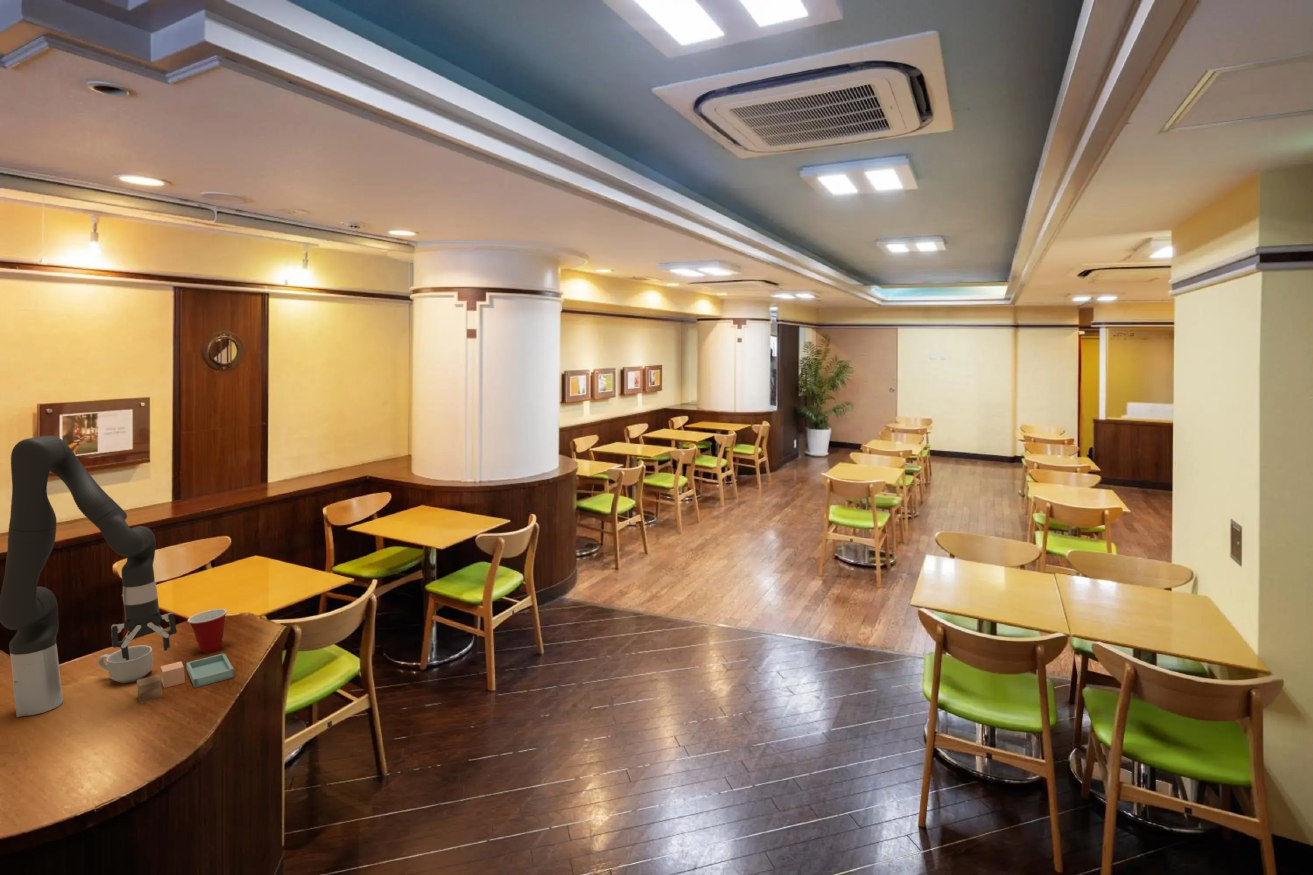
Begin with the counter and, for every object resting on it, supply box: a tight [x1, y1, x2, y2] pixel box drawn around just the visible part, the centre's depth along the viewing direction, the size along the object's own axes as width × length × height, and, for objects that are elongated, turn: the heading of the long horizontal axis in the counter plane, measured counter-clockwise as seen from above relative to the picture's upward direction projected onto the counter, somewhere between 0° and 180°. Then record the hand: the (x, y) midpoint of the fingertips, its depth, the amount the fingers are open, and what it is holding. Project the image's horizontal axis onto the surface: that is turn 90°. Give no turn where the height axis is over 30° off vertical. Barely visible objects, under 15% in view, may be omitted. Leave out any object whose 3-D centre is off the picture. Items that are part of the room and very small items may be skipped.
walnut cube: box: [136, 674, 163, 704], centre depth 187 cm, size 5×5×5 cm
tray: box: [185, 652, 235, 689], centre depth 200 cm, size 10×15×2 cm, turn 42°
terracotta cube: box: [160, 661, 186, 689], centre depth 195 cm, size 5×5×5 cm
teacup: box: [97, 644, 154, 684], centre depth 198 cm, size 14×11×8 cm
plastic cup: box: [187, 608, 227, 653], centre depth 217 cm, size 11×11×12 cm
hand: (146, 654), depth 186 cm, fingers open, 8 cm apart
